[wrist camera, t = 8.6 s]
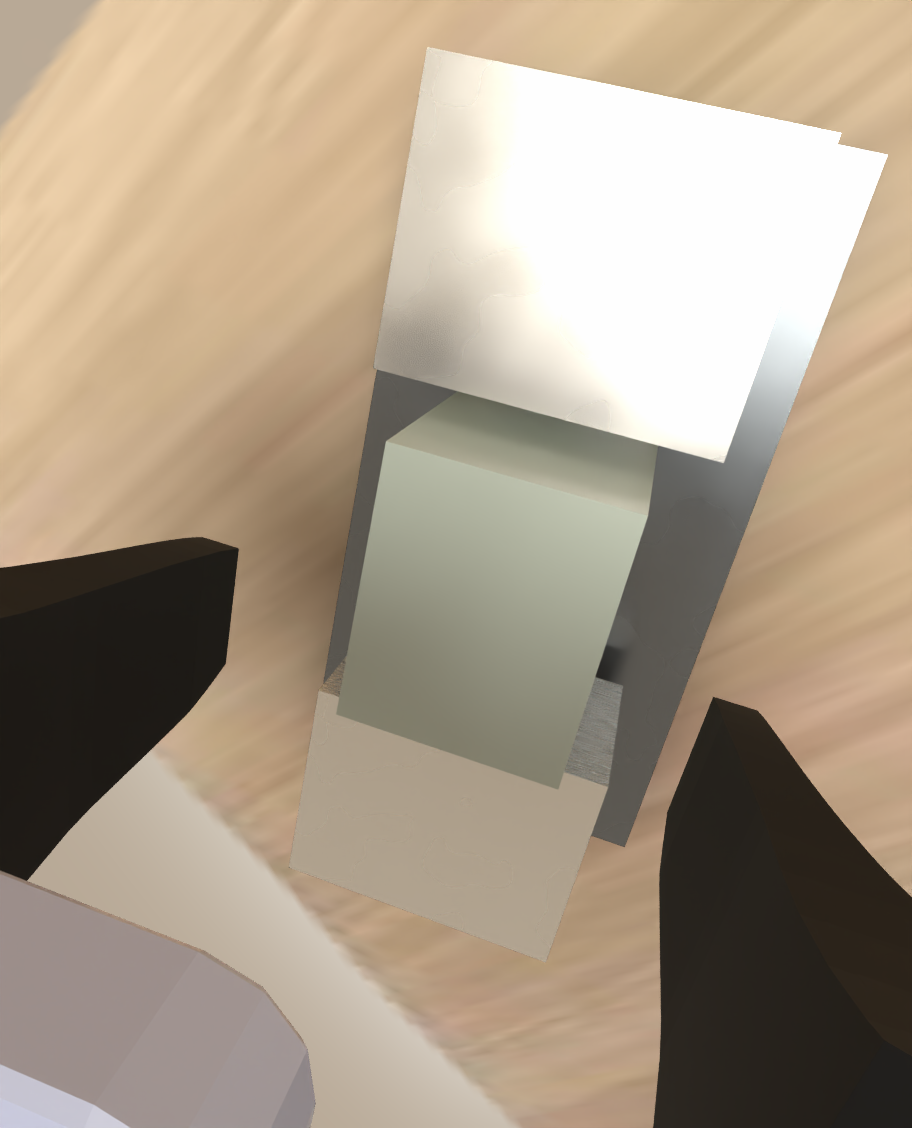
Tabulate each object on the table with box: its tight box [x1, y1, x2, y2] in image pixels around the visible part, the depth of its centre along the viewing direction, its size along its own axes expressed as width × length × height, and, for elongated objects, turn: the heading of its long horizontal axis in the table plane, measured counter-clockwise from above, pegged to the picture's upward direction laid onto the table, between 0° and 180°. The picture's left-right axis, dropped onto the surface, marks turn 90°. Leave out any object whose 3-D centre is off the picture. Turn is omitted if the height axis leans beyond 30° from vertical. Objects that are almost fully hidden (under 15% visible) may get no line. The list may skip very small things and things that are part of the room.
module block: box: [336, 391, 658, 789], centre depth 16 cm, size 5×4×6 cm
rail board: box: [289, 47, 888, 962], centre depth 18 cm, size 17×9×6 cm, turn 167°
